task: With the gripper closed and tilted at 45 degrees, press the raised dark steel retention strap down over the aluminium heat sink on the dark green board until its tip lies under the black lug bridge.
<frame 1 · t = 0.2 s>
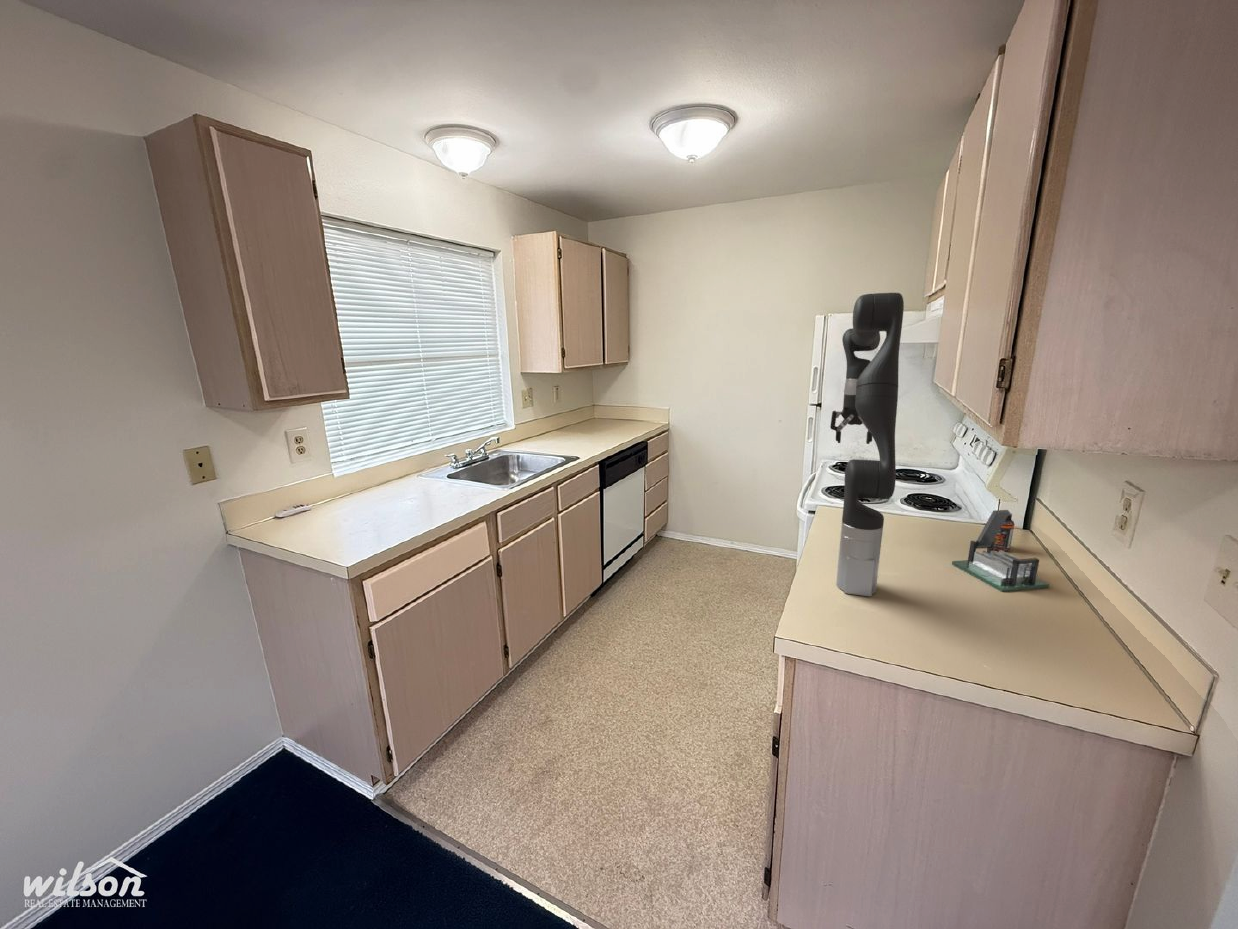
hand: (853, 443, 160), 29 cm above the counter, tool pointing down, fingers open, 8 cm apart
supplement bottle: (997, 548, 148), on the counter
heatsink: (978, 566, 136), on the counter
retention strap: (991, 530, 132), point 11 cm above the counter, hinge at 20.0°
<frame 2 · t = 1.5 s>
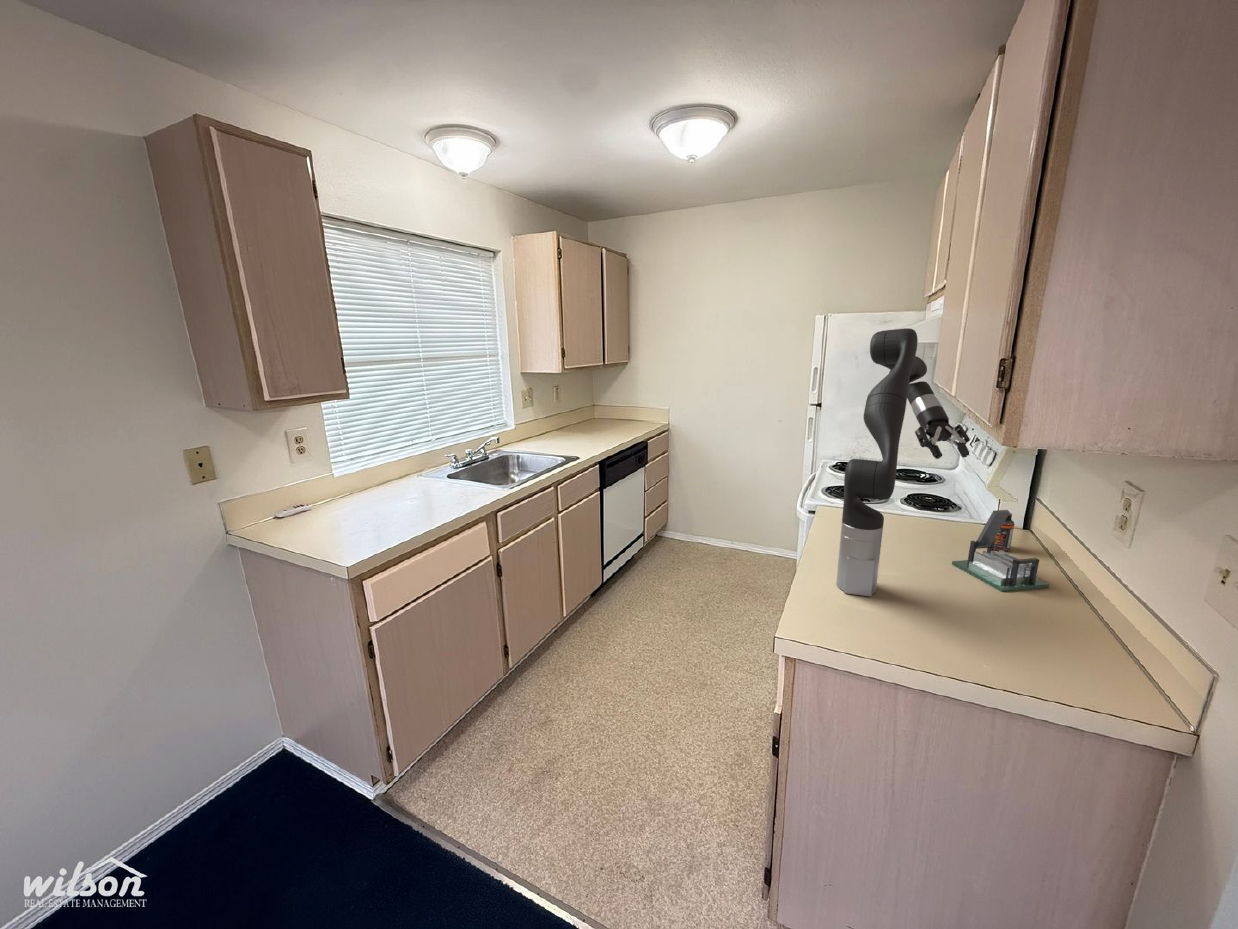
hand: (952, 456, 143), 28 cm above the counter, tool tilted 45°, fingers open, 8 cm apart
nothing on the counter moved.
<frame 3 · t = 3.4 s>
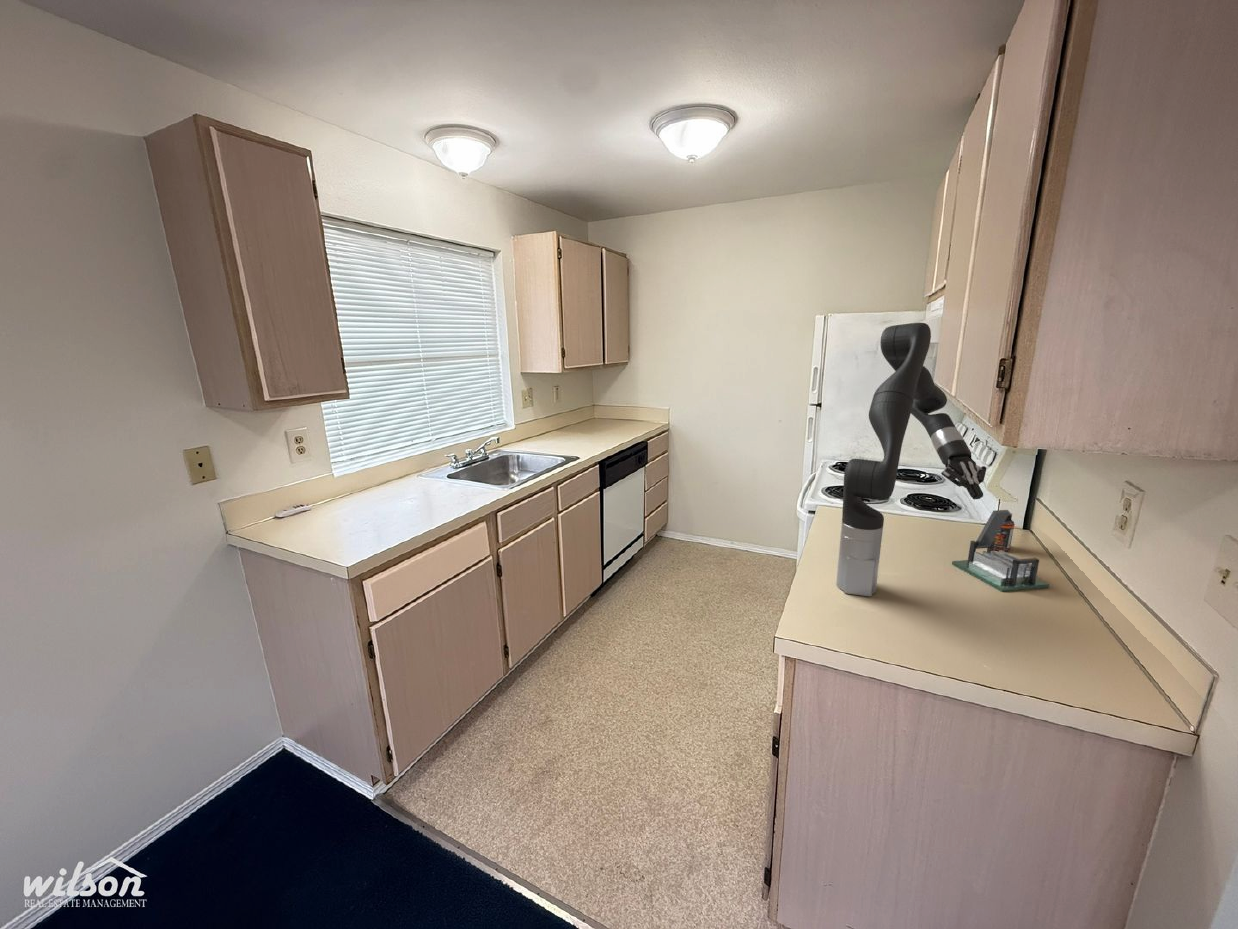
hand: (978, 498, 135), 19 cm above the counter, tool tilted 45°, fingers closed
nothing on the counter moved.
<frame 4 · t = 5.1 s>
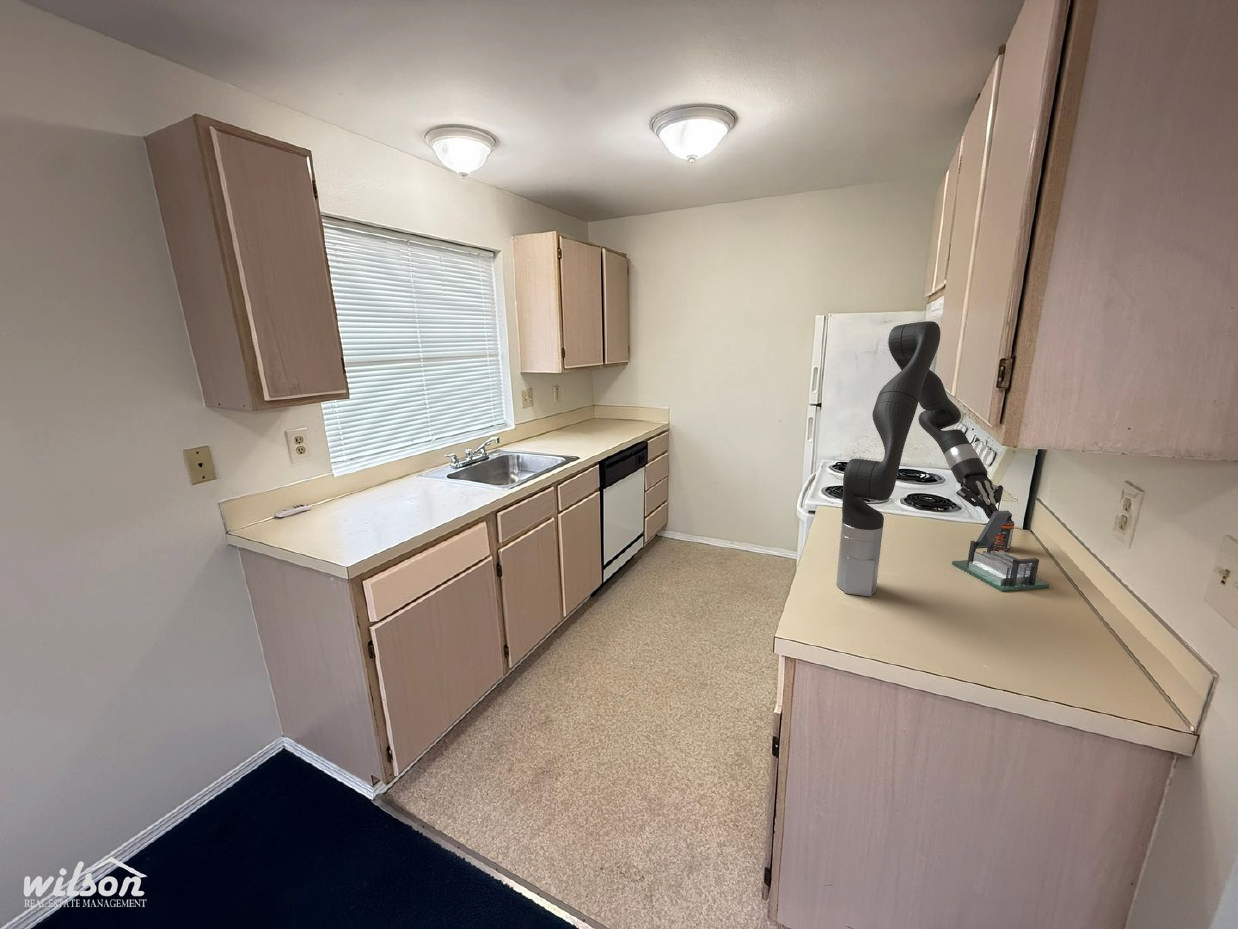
hand: (995, 519, 130), 15 cm above the counter, tool tilted 45°, fingers closed
retention strap: (991, 530, 132), point 11 cm above the counter, hinge at 21.4°, touching gripper
everything else where it was.
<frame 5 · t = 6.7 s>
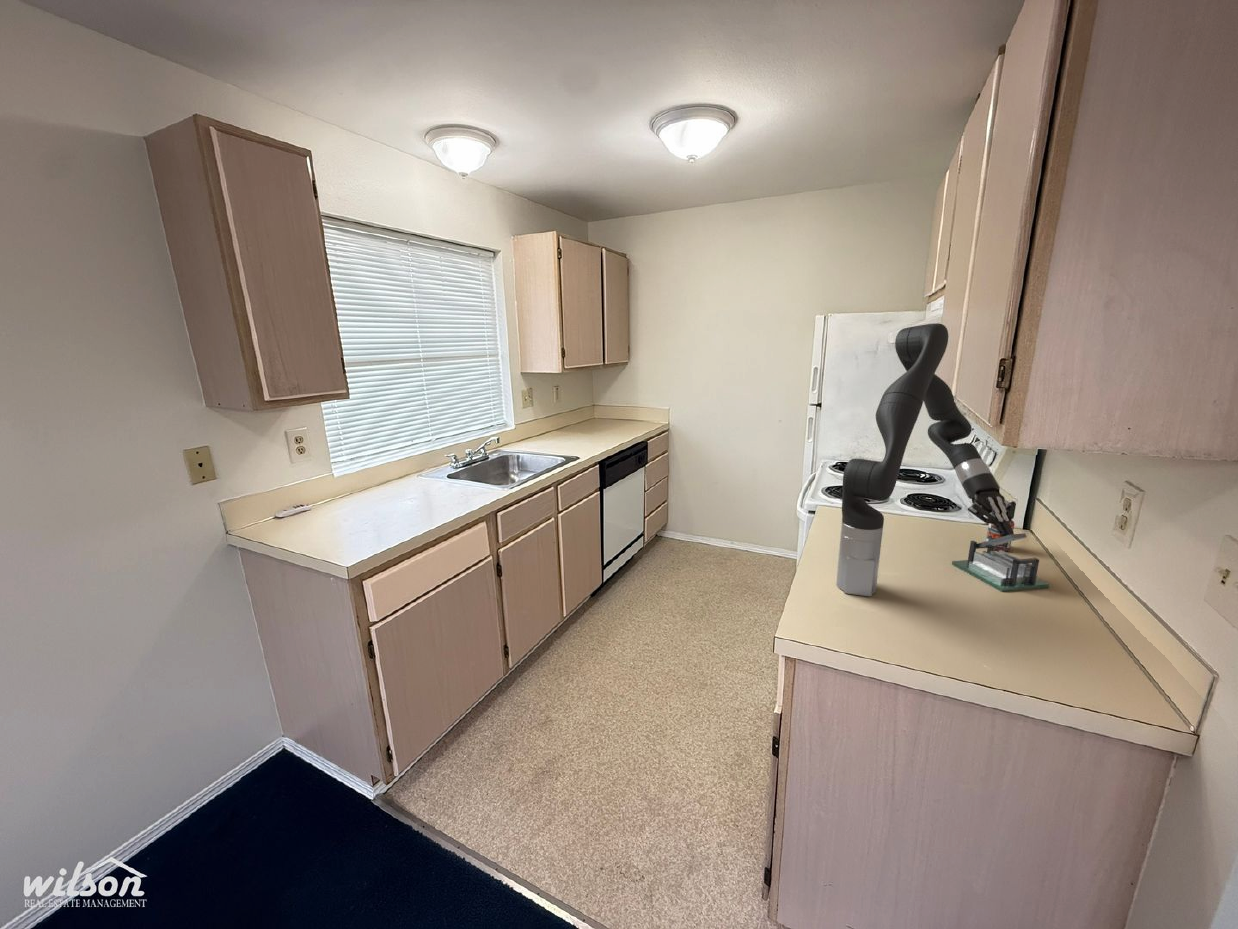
hand: (1008, 536, 127), 11 cm above the counter, tool tilted 45°, fingers closed
retention strap: (998, 541, 130), point 9 cm above the counter, hinge at 55.8°, touching gripper
everything else where it was.
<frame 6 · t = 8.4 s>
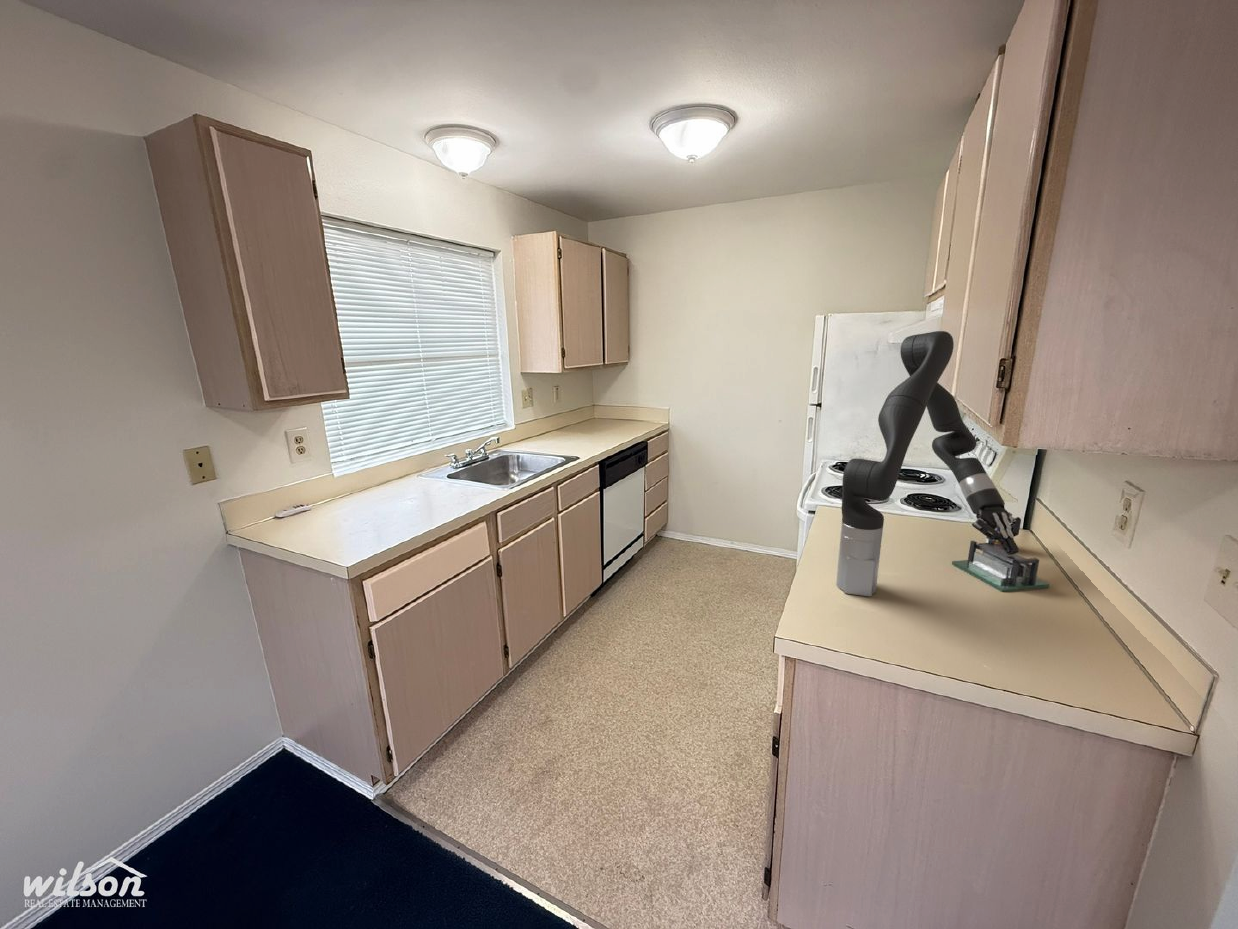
hand: (1013, 553, 125), 8 cm above the counter, tool tilted 45°, fingers closed
retention strap: (1000, 553, 129), point 6 cm above the counter, hinge at 87.4°
everything else where it was.
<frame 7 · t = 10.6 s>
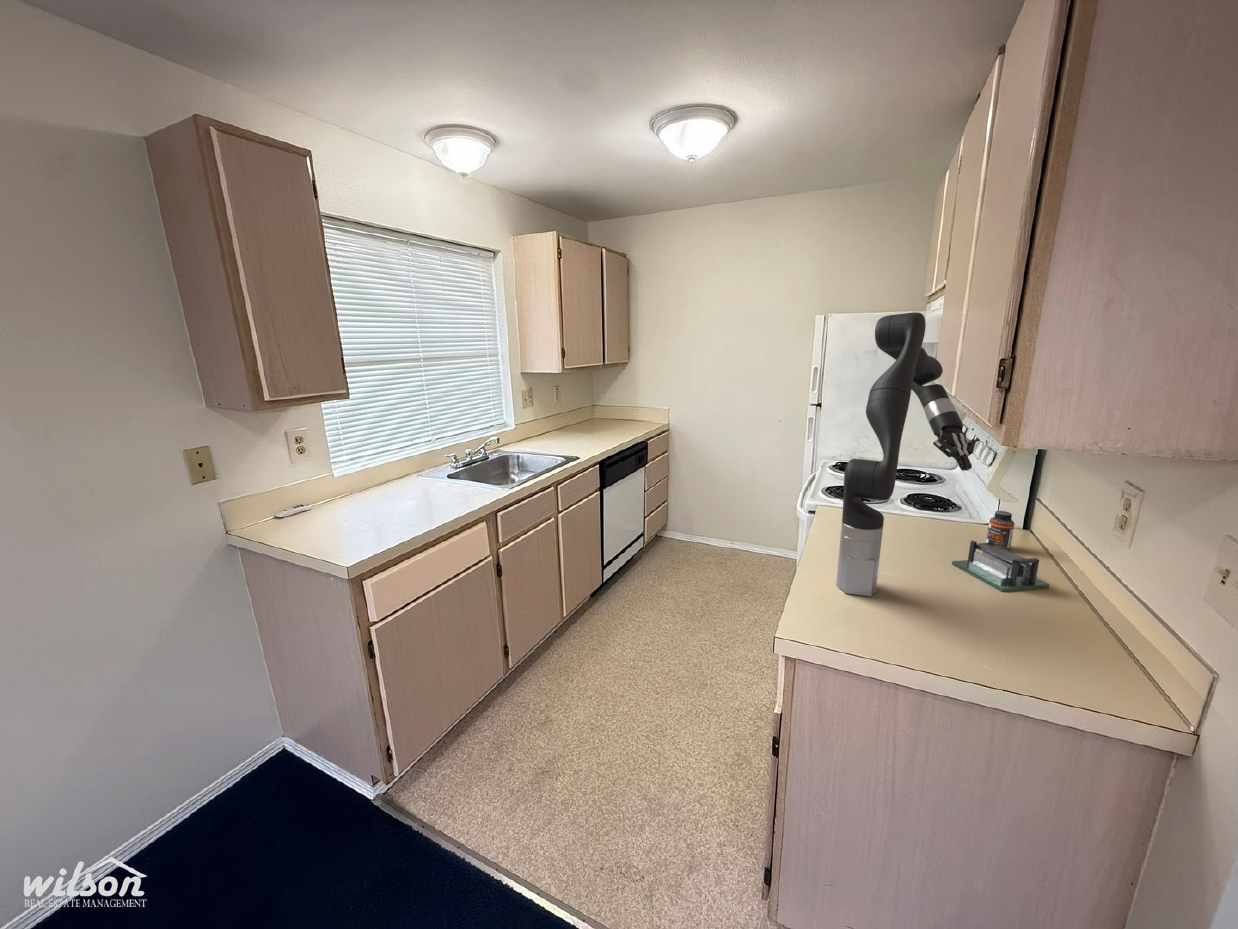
hand: (967, 469, 137), 26 cm above the counter, tool tilted 40°, fingers closed
nothing on the counter moved.
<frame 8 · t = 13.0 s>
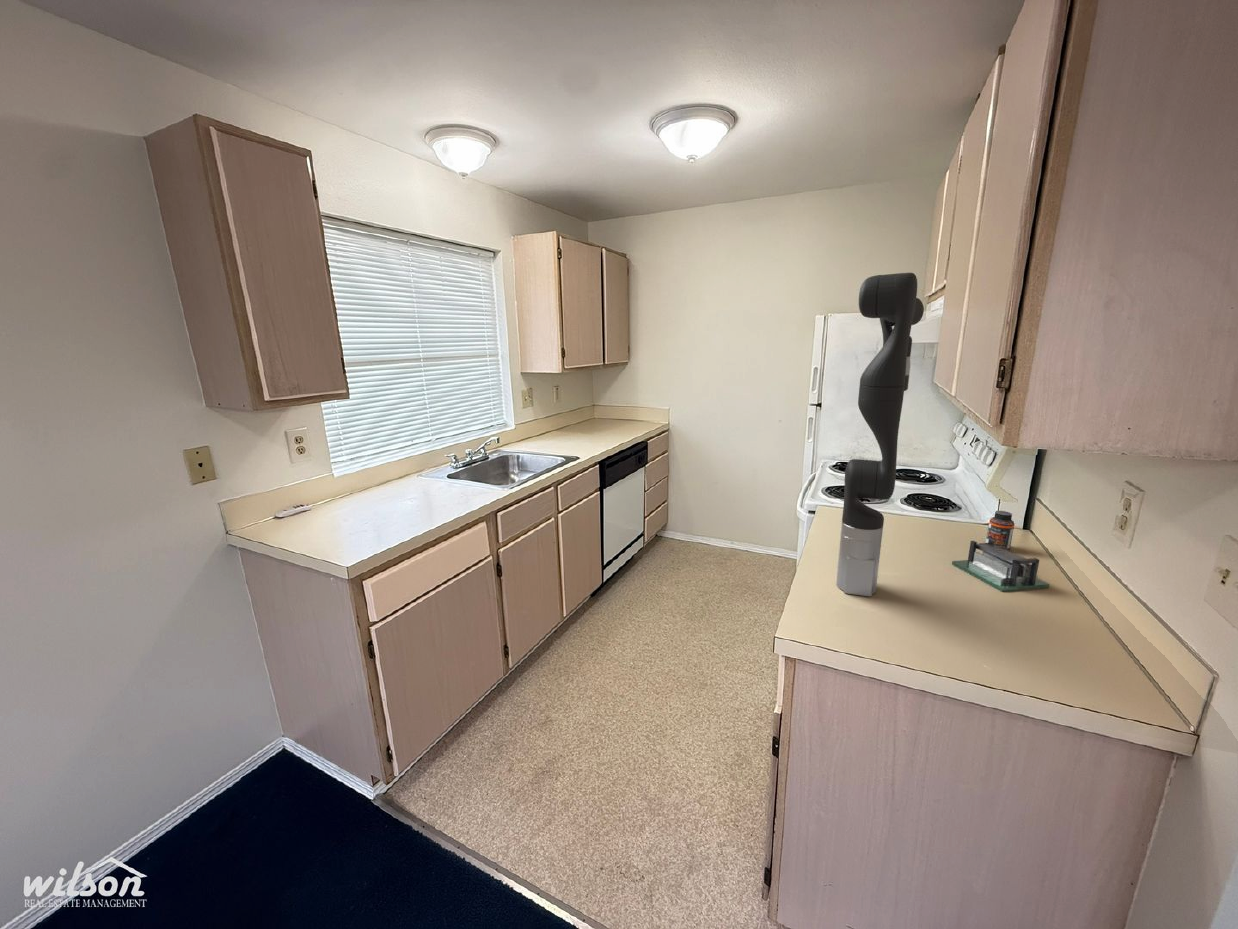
hand: (887, 434, 142), 35 cm above the counter, tool pointing down, fingers closed
nothing on the counter moved.
at the end: retention strap at +88° (first picture: +20°); supplement bottle moved 0.2 cm from its start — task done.
